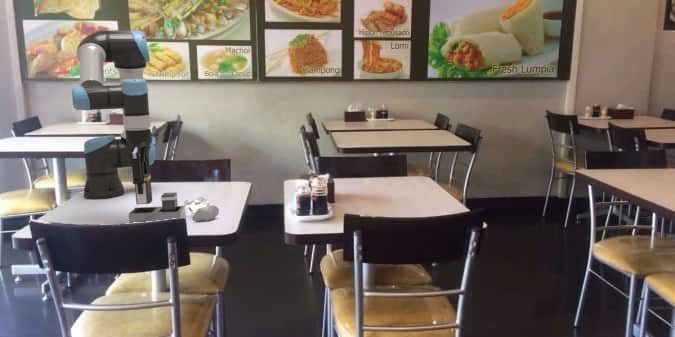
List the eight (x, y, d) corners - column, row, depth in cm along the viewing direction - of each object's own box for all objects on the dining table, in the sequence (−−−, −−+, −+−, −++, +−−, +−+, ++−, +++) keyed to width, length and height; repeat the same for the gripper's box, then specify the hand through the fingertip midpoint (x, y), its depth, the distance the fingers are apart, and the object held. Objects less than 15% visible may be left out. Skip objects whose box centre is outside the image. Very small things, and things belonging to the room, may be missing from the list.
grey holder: (136, 222, 187) (134, 192, 185) (186, 220, 188) (184, 190, 187) (129, 229, 179) (127, 198, 178) (181, 227, 181) (179, 196, 179)
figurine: (194, 211, 183) (180, 198, 192) (195, 229, 185) (181, 215, 194) (221, 205, 188) (206, 192, 197) (221, 222, 190) (207, 209, 199)
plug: (152, 200, 184) (150, 173, 183) (149, 203, 180) (147, 176, 179) (139, 201, 184) (137, 174, 182) (136, 204, 180) (133, 176, 178)
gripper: (133, 126, 186) (138, 196, 190) (117, 132, 169) (124, 208, 173) (156, 125, 187) (161, 195, 191) (143, 131, 170) (149, 207, 174)
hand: (144, 201), depth 182 cm, fingers closed on plug, 4 cm apart
